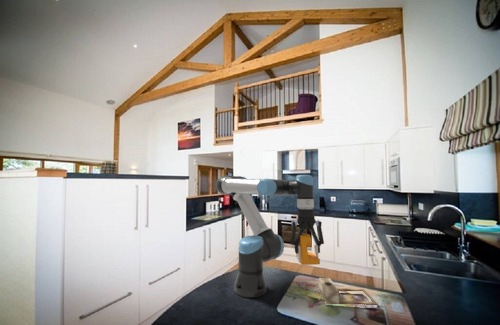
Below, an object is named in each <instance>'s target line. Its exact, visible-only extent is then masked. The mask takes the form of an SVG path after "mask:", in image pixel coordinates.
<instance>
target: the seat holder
mask: <svg viewBox="0 0 500 325" xmlns="http://www.w3.org/2000/svg"><path fill="white" fill-rule="evenodd" d="M319 291H320V292H319ZM339 291H363V292H364V293H365V294H366V295H367V296H368V297H369V298H370V299H371V301H372V302H369V301H359V300H357V301H356V300H344V299H343V300H340V298H339V297H340V296H339ZM318 292H319V293H321V294H320V296H321V295H322V296H321V298H322V297H323V298H322V300H323V299H324V300H325V302H326V304H364V305H365V304H366V305H378V306H379V304H378V303H377V301H376V300H375V299H374V298H373V297H372V296H371V295H370V294H369V293H368V292H367V291H366V290H365V289H364V288H349V287H346V288H345V287H344V288H343V287H337V286H336V285H335V284H334V282H333V281H332V279H331V278H329V277H328V278H327V277H319V278H318ZM324 300H323V301H324ZM325 302H324V303H325ZM326 304H325V305H326Z"/></svg>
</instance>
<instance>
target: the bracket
mask: <svg viewBox="0 0 500 325" xmlns="http://www.w3.org/2000/svg"><path fill="white" fill-rule="evenodd" d="M312 243H313V242H312V236H311V234H309V233H308V234H307V233H305V234H304V233H302V236H300V242H299V246H300V255H301V262H299V263H300V265H302V266H309V265H310V266H311V265H321V264H320V263H321V261H320V258H319V256H318V257H316V256H315V255H314V253H313V252H308V248H311V246H312ZM295 257H296V258H297V253H295Z"/></svg>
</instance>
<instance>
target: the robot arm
mask: <svg viewBox="0 0 500 325" xmlns="http://www.w3.org/2000/svg"><path fill="white" fill-rule="evenodd" d="M295 176H296V178H295V179H276V178H274V179H273V178H247V177H245V176H239V175H237V176H235V175H222V176H220V177H219V178H218V179H216V182H215V189H216V191H217V193H219V194H221V195H228V196H229V195H230V196H231V197H232V199H233V201H237V202H236V203H238V206H239V207H240V209H241V211H242V213H243V215H244V217H245V220H246V222H247V223H248V225H249V227H250V229H251V231H252V235H247V236H245V237H244V236H243V237H242V238H241V239H240V240H239V244H238V270H237V271H238V273H237V275H236V277H235V278H236V279H235V282H234V288H233V290H234V292H235V294H237V295H238V296H240V297H243V298H249V299H250V298H259V297H261V296H263V295H265V294H266V293H267V282H266V278H265V274H264V263H266V262H270V261H272V260H276V259H277V258H279V257H280V256H282V254H283V253H284V251H285V250H284V248H285V243H284V239H283V238H282V236H280V235H279V234H277V233H275V232H274V231H273V229H272V228H270V227H268V225H267V224H266V221H265V220H264V217H263V216H262V215H261V212H260V210H259V209H258V207H257V205H256V204H255V202H254V200H253V198H252V196H251V195H262V196H265V197H271V196H296V206H297V211H296V212H297V219H296V220H294V221H291V222H290V224H291V232H290V240H289V241H290V244H291V245H293V246H294V253H295V254H296V253H297V257H296V259H297V261H298V263H300V262H301V255H300V246H299V242H300V236H302V234H304V233H303V232H304V231H306V230H309V232H310V233H311V234H310V235H312V236H311V237H312V238H313V241H314V244H313V254H314V255H315V256H316V257H318V258H319V254H320V253H321V245H324V244H325V242H324V235H323V230H322V221H320V220H316V219H315V209H314V207H315V201H314V199H315V198H314V179H313V176H312V175H310V174H297V175H295ZM297 226H299V228H298V231H297ZM314 226H316V231H317V233H316V231H315V227H314ZM296 231H297V232H296ZM296 233H297V234H296Z"/></svg>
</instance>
